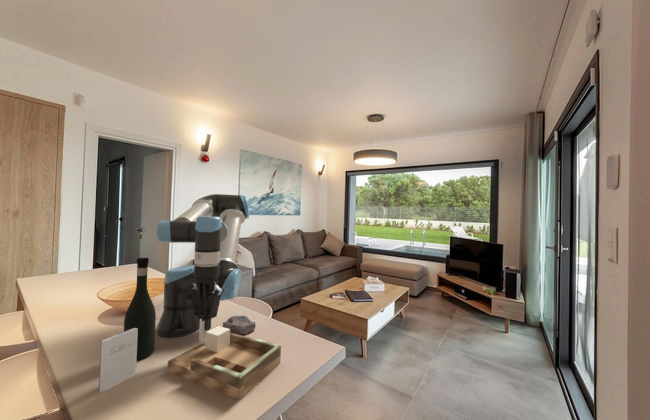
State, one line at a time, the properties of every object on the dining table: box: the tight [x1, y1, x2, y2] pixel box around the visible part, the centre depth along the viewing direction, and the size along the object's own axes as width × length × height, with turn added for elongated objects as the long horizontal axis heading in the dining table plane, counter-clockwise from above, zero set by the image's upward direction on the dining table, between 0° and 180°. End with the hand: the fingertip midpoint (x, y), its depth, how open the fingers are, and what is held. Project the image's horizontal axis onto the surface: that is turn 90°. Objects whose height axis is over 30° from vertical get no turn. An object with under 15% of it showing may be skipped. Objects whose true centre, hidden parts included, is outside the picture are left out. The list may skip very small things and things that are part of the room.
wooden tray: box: [167, 332, 282, 401], centre depth 75 cm, size 26×17×6 cm, turn 66°
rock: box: [222, 315, 256, 335], centre depth 98 cm, size 8×11×5 cm
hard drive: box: [98, 328, 138, 393], centre depth 68 cm, size 2×8×12 cm, turn 159°
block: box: [204, 325, 230, 352], centre depth 81 cm, size 5×5×5 cm
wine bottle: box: [123, 257, 157, 361], centre depth 81 cm, size 8×8×30 cm
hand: (204, 339), depth 83 cm, fingers closed
